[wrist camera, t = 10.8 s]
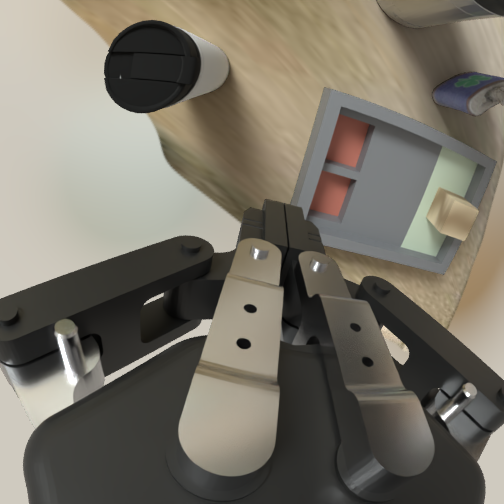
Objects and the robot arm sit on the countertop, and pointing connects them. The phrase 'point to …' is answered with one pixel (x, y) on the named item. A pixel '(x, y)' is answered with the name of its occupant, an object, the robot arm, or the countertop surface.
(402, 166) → the tray
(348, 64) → the countertop surface
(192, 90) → the travel mug
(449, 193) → the maple cube
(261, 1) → the countertop surface
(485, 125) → the countertop surface
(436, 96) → the flask
